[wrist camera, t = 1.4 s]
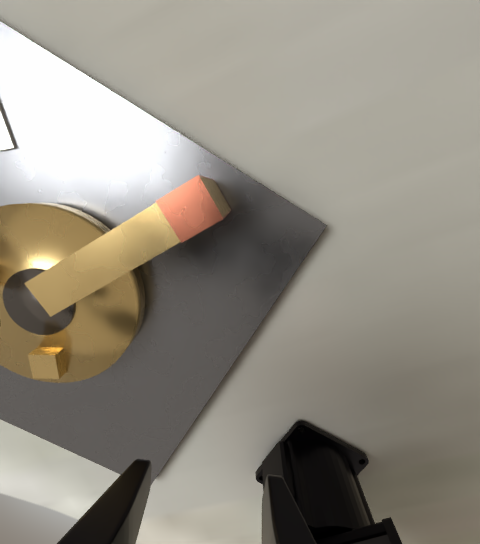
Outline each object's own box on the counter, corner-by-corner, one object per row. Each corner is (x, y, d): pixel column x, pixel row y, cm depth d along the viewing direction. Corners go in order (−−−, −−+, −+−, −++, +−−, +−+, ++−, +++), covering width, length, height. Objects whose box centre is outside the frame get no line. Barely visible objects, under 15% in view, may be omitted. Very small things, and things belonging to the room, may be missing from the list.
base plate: (322, 223, 17) (327, 225, 16) (153, 475, 23) (148, 490, 22) (-61, -16, 15) (-87, -34, 14) (-141, 338, 21) (-164, 347, 20)
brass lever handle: (240, 195, 16) (235, 197, 11) (121, 402, 20) (80, 470, 15) (33, 68, 15) (-77, 6, 10) (-49, 318, 19) (-155, 364, 14)
